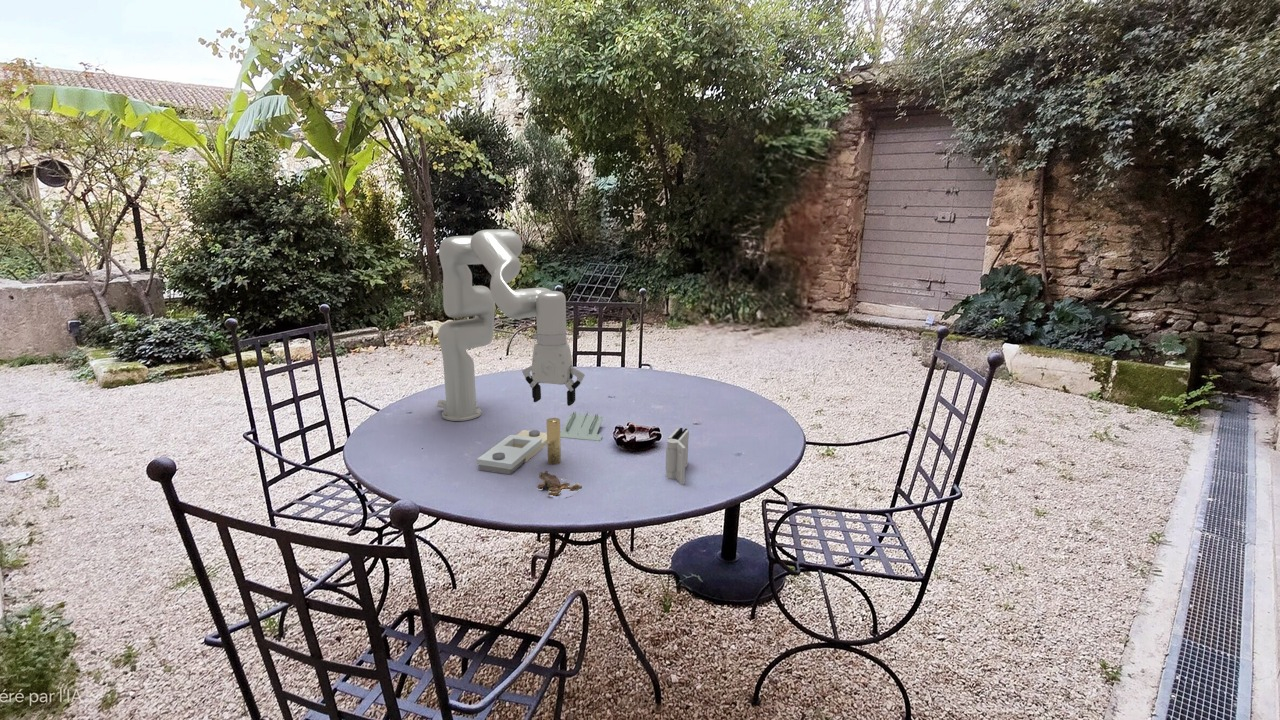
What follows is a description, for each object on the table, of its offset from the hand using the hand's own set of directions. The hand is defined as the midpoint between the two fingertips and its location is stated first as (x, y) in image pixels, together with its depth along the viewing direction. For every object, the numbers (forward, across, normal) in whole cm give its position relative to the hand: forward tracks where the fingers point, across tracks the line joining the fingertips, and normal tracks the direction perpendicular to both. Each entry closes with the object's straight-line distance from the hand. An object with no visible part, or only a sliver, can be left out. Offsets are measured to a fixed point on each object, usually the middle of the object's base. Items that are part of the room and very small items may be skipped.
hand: (553, 402), depth 156 cm
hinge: (+18, +33, +4) cm, 38 cm away
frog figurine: (+18, +6, -14) cm, 24 cm away
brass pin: (+17, -1, 0) cm, 17 cm away
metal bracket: (+18, -2, +23) cm, 29 cm away
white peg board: (+17, -13, +2) cm, 21 cm away
